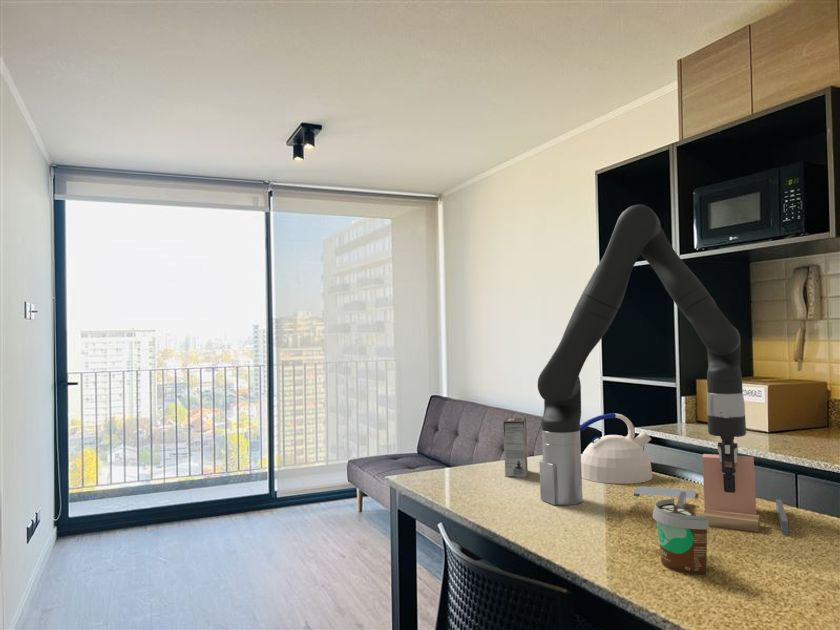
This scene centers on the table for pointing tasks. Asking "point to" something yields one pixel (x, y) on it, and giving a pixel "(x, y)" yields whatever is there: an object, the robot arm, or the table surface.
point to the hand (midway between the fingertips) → (729, 487)
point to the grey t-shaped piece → (663, 492)
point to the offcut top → (733, 520)
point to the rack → (779, 510)
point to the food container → (681, 538)
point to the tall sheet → (744, 486)
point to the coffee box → (515, 447)
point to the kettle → (616, 456)
